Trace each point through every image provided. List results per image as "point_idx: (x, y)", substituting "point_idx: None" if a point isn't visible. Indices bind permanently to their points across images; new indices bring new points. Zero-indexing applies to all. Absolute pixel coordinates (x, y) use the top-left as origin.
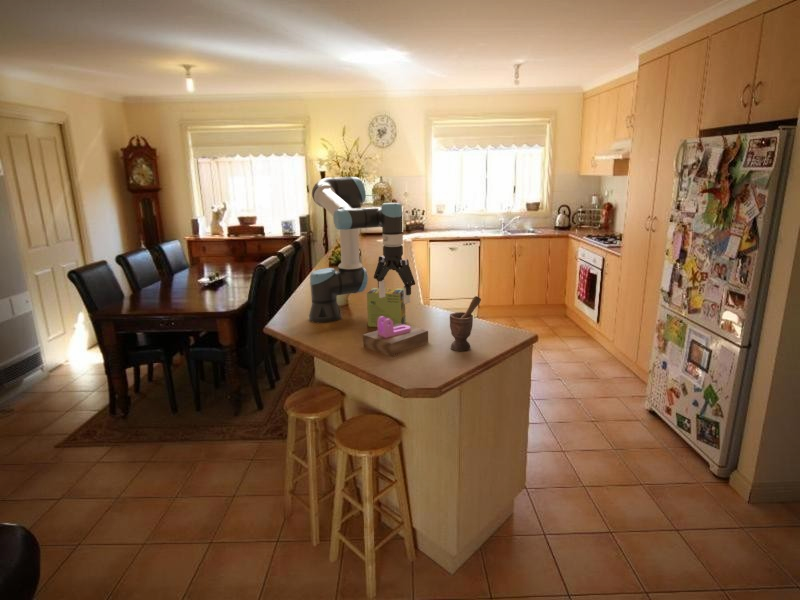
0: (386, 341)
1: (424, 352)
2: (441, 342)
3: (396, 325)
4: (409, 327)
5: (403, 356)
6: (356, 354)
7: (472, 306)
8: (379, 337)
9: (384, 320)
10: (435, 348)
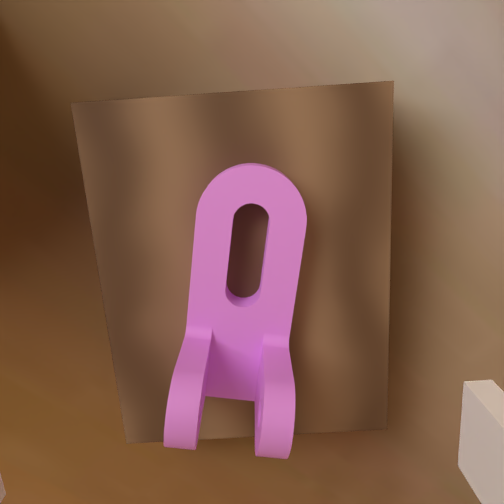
0: (334, 425)
1: (462, 228)
2: (433, 17)
3: (111, 166)
4: (289, 191)
5: (410, 344)
6: (211, 474)
7: None
8: (244, 409)
9: (260, 455)
10: (472, 134)
